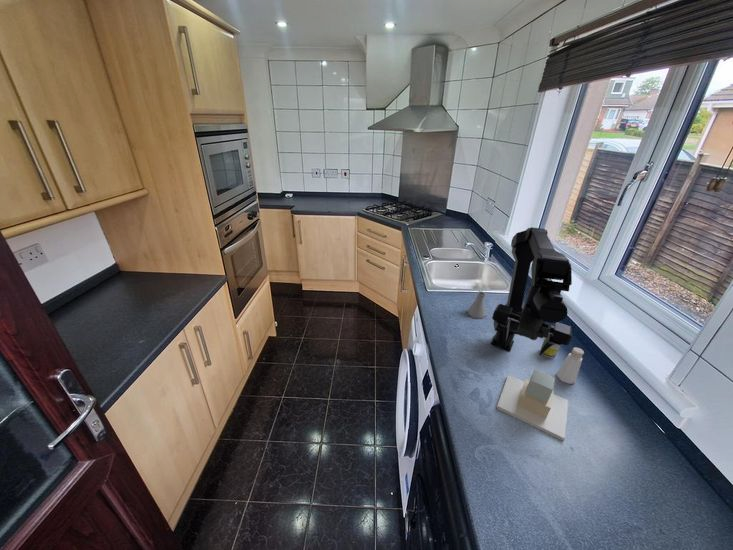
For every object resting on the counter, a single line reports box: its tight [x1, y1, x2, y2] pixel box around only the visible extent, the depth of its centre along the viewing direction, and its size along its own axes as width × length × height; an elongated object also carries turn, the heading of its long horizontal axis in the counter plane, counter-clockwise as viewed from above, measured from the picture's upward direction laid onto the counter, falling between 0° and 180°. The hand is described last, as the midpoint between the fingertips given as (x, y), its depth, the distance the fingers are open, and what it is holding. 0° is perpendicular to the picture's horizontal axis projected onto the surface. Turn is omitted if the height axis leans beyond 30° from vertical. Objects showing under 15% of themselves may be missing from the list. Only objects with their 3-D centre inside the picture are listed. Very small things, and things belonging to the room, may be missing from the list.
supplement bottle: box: [539, 334, 561, 359], centre depth 101 cm, size 5×5×8 cm
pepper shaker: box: [555, 346, 585, 385], centre depth 90 cm, size 5×5×11 cm
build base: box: [496, 374, 569, 442], centre depth 82 cm, size 14×16×5 cm
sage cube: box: [526, 369, 556, 404], centre depth 79 cm, size 5×5×5 cm
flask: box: [466, 290, 487, 319], centre depth 120 cm, size 7×7×10 cm
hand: (522, 347), depth 85 cm, fingers open, 9 cm apart
